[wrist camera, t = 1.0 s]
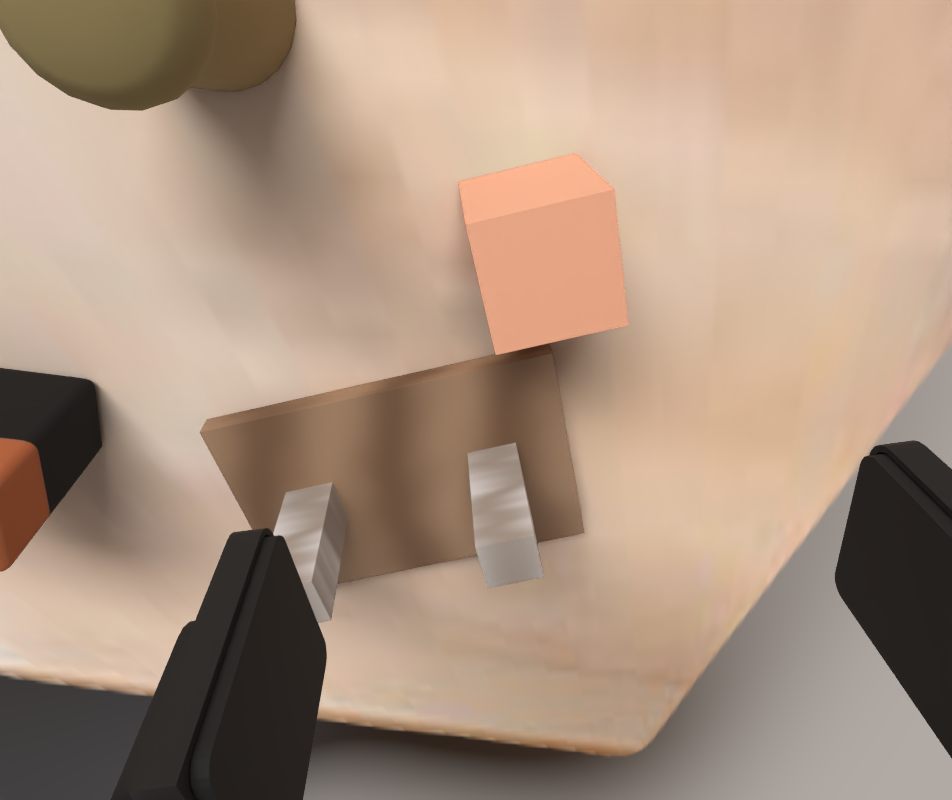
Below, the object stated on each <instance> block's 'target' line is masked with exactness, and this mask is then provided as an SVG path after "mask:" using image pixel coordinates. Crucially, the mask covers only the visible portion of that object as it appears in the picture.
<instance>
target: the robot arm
mask: <svg viewBox="0 0 952 800" xmlns="http://www.w3.org/2000/svg"><path fill="white" fill-rule="evenodd" d="M835 583H836V586H837V589H838V592H839V594H840V596H841V598H842V599H843V601H844V602H845V604H846V605H847V606H848V608H849V609H850V611H851V612H852V614H853V615H854V617H855V618H856V620H857V621H858V622H859V624H860V625H861V627H862V628H863V630H864V631H865V633H866V634H867V636H868V637H869V639H870V640H871V641H872V643H873V644H874V646H875V647H876V649H877V650H878V652H879V653H880V655H881V656H882V657H883V659H884V660H885V661H886V663H887V665H888V666H889V668H890V669H891V670H892V672H893V673H894V674H895V676H896V678H897V679H898V681H899V682H900V684H901V685H902V687H903V688H904V689H905V691H906V692H907V694H908V695H909V697H910V698H911V700H912V701H913V703H914V704H915V706H916V707H917V708H918V710H919V711H920V713H921V714H922V716H923V717H924V719H925V720H926V722H927V723H928V724H929V726H930V727H931V729H932V730H933V732H934V733H935V734H936V736H937V738H938V739H939V740H940V742H941V743H942V745H943V746H944V748H945V749H946V750H947V752H948V754H949V755H950V756H951V758H952V469H951V468H950V467H948V466H947V465H946V464H945V463H944V462H943V461H942V460H941V459H939V458H938V457H937V456H936V455H935V454H934V453H933V452H932V451H931V450H929V449H928V448H927V447H926V446H925V445H923V444H921V443H920V442H918V441H906V442H899V443H891V444H885V445H878V446H875V447H874V448H873V449H872V450H871V452H870V455H869V456H866V457H864V458H863V459H862V461H861V463H860V467H859V472H858V477H857V480H856V485H855V489H854V494H853V498H852V503H851V506H850V511H849V515H848V519H847V524H846V529H845V533H844V537H843V541H842V546H841V550H840V554H839V559H838V563H837V567H836V572H835ZM326 658H327V653H326V644H325V640H324V638H323V635H322V632H321V630H320V627H319V625H318V622H317V620H316V617H315V615H314V612H313V610H312V607H311V604H310V602H309V599H308V597H307V594H306V592H305V589H304V587H303V584H302V581H301V579H300V576H299V574H298V571H297V569H296V566H295V564H294V561H293V559H292V556H291V553H290V551H289V548H288V546H287V543H286V541H285V539H284V537H283V536H282V535H278V536H274V535H273V533H272V531H271V530H270V529H269V528H263V529H255V530H248V531H241V532H233V533H232V534H231V535H230V536H229V538H228V540H227V542H226V545H225V547H224V550H223V552H222V555H221V557H220V560H219V562H218V565H217V567H216V570H215V572H214V575H213V577H212V580H211V582H210V585H209V587H208V590H207V592H206V595H205V598H204V600H203V603H202V605H201V608H200V610H199V613H198V615H197V618H196V620H195V621H192V622H189V623H188V624H187V625H186V626H185V627H183V629H182V631H181V633H180V635H179V636H178V639H177V641H176V643H175V646H174V648H173V651H172V653H171V656H170V658H169V660H168V663H167V665H166V668H165V670H164V672H163V675H162V677H161V680H160V682H159V684H158V687H157V689H156V692H155V694H154V697H153V699H152V702H151V704H150V706H149V709H148V711H147V713H146V716H145V718H144V721H143V723H142V726H141V728H140V730H139V733H138V735H137V738H136V740H135V742H134V745H133V747H132V750H131V752H130V754H129V757H128V759H127V762H126V764H125V767H124V769H123V772H122V774H121V776H120V779H119V781H118V784H117V786H116V788H115V791H114V793H113V795H112V798H111V800H303V795H304V790H305V784H306V778H307V772H308V766H309V761H310V754H311V749H312V743H313V737H314V731H315V726H316V720H317V714H318V708H319V702H320V696H321V691H322V685H323V679H324V673H325V667H326Z"/></svg>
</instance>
